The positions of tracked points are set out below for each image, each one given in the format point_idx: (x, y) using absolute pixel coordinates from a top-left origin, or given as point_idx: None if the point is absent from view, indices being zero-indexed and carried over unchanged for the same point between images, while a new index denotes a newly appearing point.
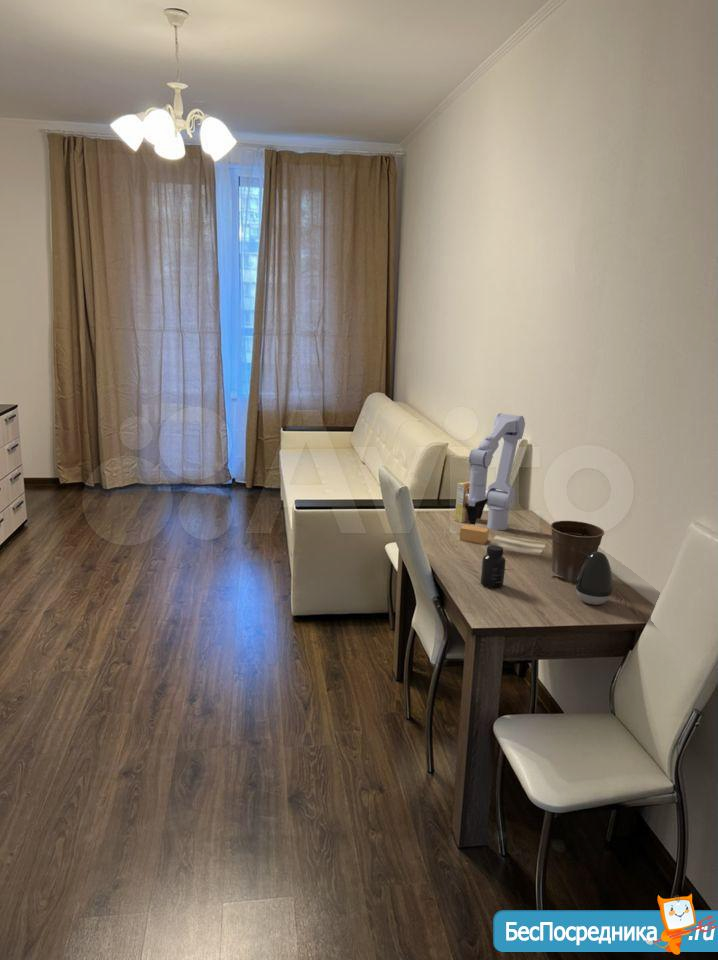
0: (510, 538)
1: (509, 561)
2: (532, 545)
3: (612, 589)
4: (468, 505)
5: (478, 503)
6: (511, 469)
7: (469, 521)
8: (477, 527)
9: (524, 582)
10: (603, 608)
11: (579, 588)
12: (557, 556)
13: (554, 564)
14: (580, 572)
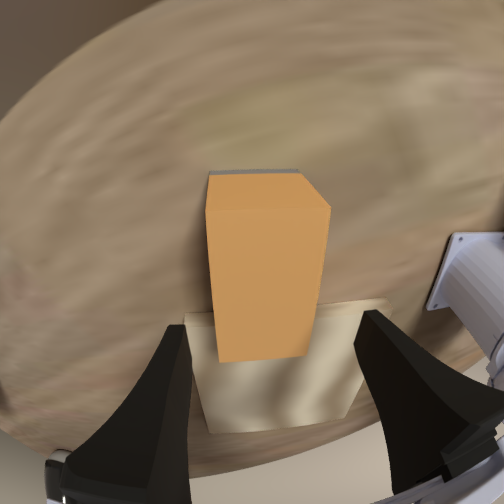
0: (353, 357)
1: (133, 383)
2: (298, 411)
3: None
4: (74, 497)
5: (415, 437)
6: None
7: (161, 343)
8: (297, 306)
9: (40, 405)
10: None
11: (45, 463)
12: None
13: None
14: (48, 484)
